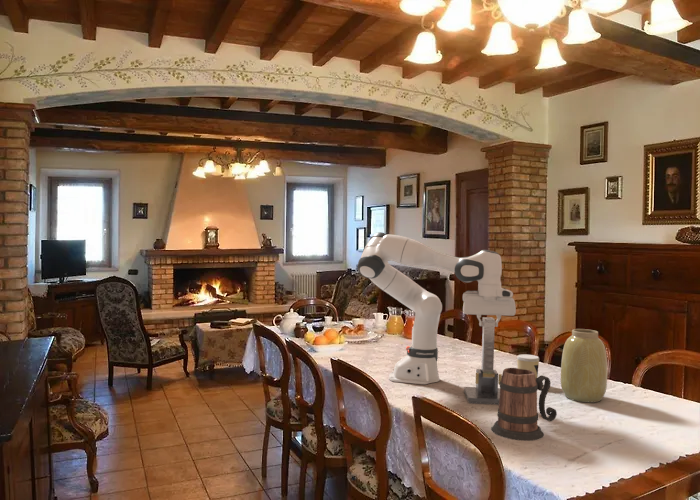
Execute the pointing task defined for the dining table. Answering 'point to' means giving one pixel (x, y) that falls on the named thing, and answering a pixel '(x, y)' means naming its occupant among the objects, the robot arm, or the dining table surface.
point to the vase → (584, 366)
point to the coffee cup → (528, 363)
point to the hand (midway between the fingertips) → (488, 326)
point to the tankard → (521, 405)
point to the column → (488, 346)
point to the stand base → (484, 389)
